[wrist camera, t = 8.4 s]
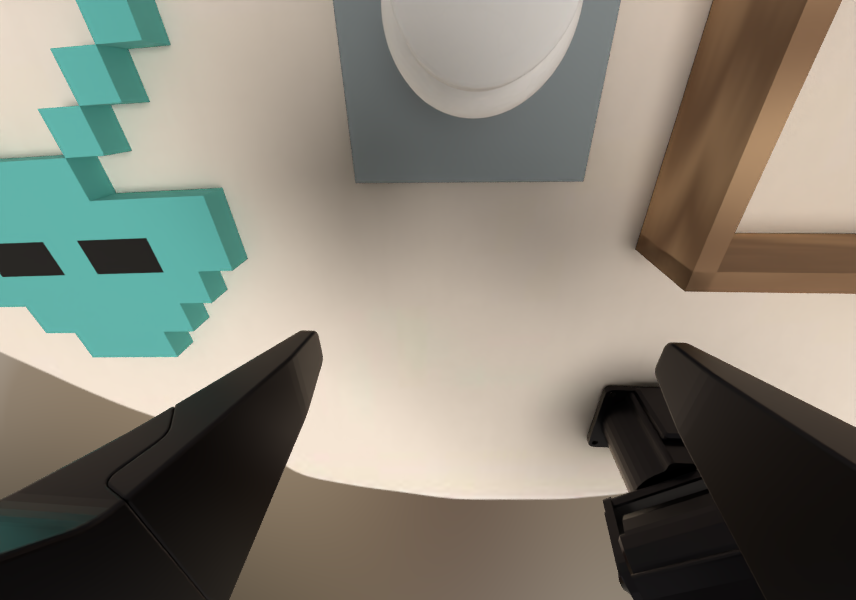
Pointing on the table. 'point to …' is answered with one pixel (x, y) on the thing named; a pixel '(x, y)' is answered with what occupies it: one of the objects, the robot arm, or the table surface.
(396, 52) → the pill bottle
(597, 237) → the table surface
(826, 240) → the walnut box
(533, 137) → the slate mat
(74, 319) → the alien figure
